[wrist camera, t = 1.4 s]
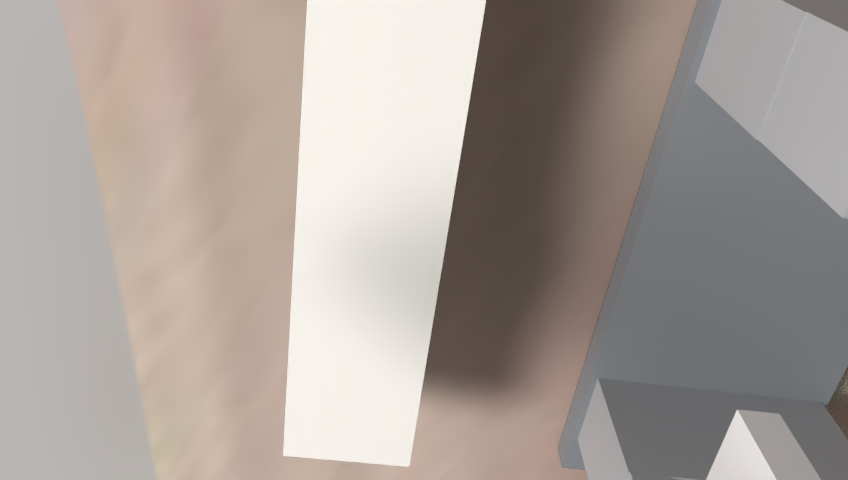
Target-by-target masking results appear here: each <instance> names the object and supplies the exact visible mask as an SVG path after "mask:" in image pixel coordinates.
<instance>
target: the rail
mask: <svg viewBox="0 0 848 480" xmlns="http://www.w3.org/2000/svg"><path fill="white" fill-rule="evenodd" d="M485 5H486V0H307V16H306V34H305V53H304V72H303V91H302V110H301V128H300V147H299V166H298V185H297V204H296V222H295V241H294V260H293V279H292V298H291V316H290V335H289V354H288V373H287V392H286V410H285V429H284V448H283V456H292V457H304V458H315V459H327V460H338V461H350V462H361V463H372V464H384V465H395V466H407V467H409V464H410V458H411V452H412V446H413V440H414V434H415V428H416V422H417V416H418V410H419V404H420V398H421V392H422V386H423V380H424V374H425V368H426V362H427V355H428V349H429V343H430V337H431V331H432V325H433V319H434V313H435V307H436V301H437V295H438V289H439V283H440V277H441V271H442V265H443V259H444V253H445V247H446V241H447V234H448V228H449V222H450V216H451V210H452V204H453V198H454V192H455V186H456V180H457V174H458V168H459V162H460V156H461V150H462V144H463V138H464V132H465V126H466V120H467V113H468V107H469V101H470V95H471V89H472V83H473V77H474V71H475V65H476V59H477V53H478V47H479V41H480V35H481V29H482V23H483V17H484V11H485Z"/></svg>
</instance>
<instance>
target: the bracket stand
mask: <svg viewBox="0 0 848 480" xmlns="http://www.w3.org/2000/svg"><path fill="white" fill-rule="evenodd" d="M847 367H848V0H698V2H697V6H696V9H695V12H694V15H693V18H692V22H691V25H690V28H689V31H688V34H687V38H686V41H685V44H684V47H683V50H682V54H681V57H680V60H679V63H678V66H677V70H676V73H675V76H674V79H673V82H672V85H671V89H670V92H669V95H668V98H667V101H666V105H665V108H664V111H663V114H662V117H661V121H660V124H659V127H658V130H657V133H656V137H655V140H654V143H653V146H652V149H651V153H650V156H649V159H648V162H647V165H646V169H645V172H644V175H643V178H642V181H641V184H640V188H639V191H638V194H637V197H636V200H635V204H634V207H633V210H632V213H631V216H630V220H629V223H628V226H627V229H626V232H625V236H624V239H623V242H622V245H621V248H620V252H619V255H618V258H617V261H616V264H615V268H614V271H613V274H612V277H611V280H610V284H609V287H608V290H607V293H606V296H605V299H604V303H603V306H602V309H601V312H600V315H599V319H598V322H597V325H596V328H595V331H594V335H593V338H592V341H591V344H590V347H589V351H588V354H587V357H586V360H585V363H584V367H583V370H582V373H581V376H580V379H579V383H578V386H577V389H576V392H575V395H574V398H573V402H572V405H571V408H570V411H569V414H568V418H567V421H566V424H565V427H564V430H563V434H562V437H561V440H560V443H559V446H558V452H559V456H560V461H561V465H562V468H571V469H581V470H586V473H587V477H588V480H706V478H707V476H708V474H709V472H710V469H711V467H712V465H713V463H714V460H715V458H716V456H717V454H718V451H719V449H720V447H721V445H722V442H723V440H724V438H725V436H726V433H727V431H728V429H729V427H730V424H731V422H732V420H733V418H734V415H735V413H736V411H737V409H738V410H747V411H757V412H766V413H776V414H780V415H781V417H782V419H783V420H784V422H785V423H786V425H787V427H788V428H789V430H790V431H791V433H792V434H793V436H794V438H795V439H796V441H797V442H798V444H799V445H800V447H801V449H802V450H803V452H804V453H805V455H806V457H807V458H808V460H809V461H810V463H811V464H812V466H813V468H814V469H815V471H816V472H817V474H818V476H819V477H820V479H821V480H848V439H847V438H846V436H845V435H844V433H843V432H842V430H841V429H840V428H839V426H838V425H837V423H836V422H835V420H834V419H833V418H832V416H831V415H830V413H829V412H828V410H827V409H826V407H827V405H828V403H829V401H830V399H831V397H832V395H833V394H834V392H835V390H836V388H837V386H838V384H839V382H840V380H841V378H842V377H843V375H844V373H845V371H846V369H847Z"/></svg>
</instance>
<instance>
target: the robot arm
mask: <svg viewBox="0 0 848 480" xmlns="http://www.w3.org/2000/svg"><path fill="white" fill-rule="evenodd" d="M706 480H821V479H820V477H819V476H818V474H817V472H816V471H815V469H814V468H813V466H812V464H811V463H810V461H809V460H808V458H807V457H806V455H805V453H804V452H803V450H802V449H801V447H800V445H799V444H798V442H797V441H796V439H795V438H794V436H793V434H792V433H791V431H790V430H789V428H788V427H787V425H786V423H785V422H784V420H783V419H782V417H781V415H780V414H776V413H766V412H757V411H747V410H738V409H737V411H736V413H735V415H734V418H733V420H732V422H731V424H730V427H729V429H728V431H727V433H726V436H725V438H724V440H723V442H722V445H721V447H720V449H719V451H718V454H717V456H716V458H715V460H714V463H713V465H712V467H711V469H710V472H709V474H708V476H707V478H706Z"/></svg>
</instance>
